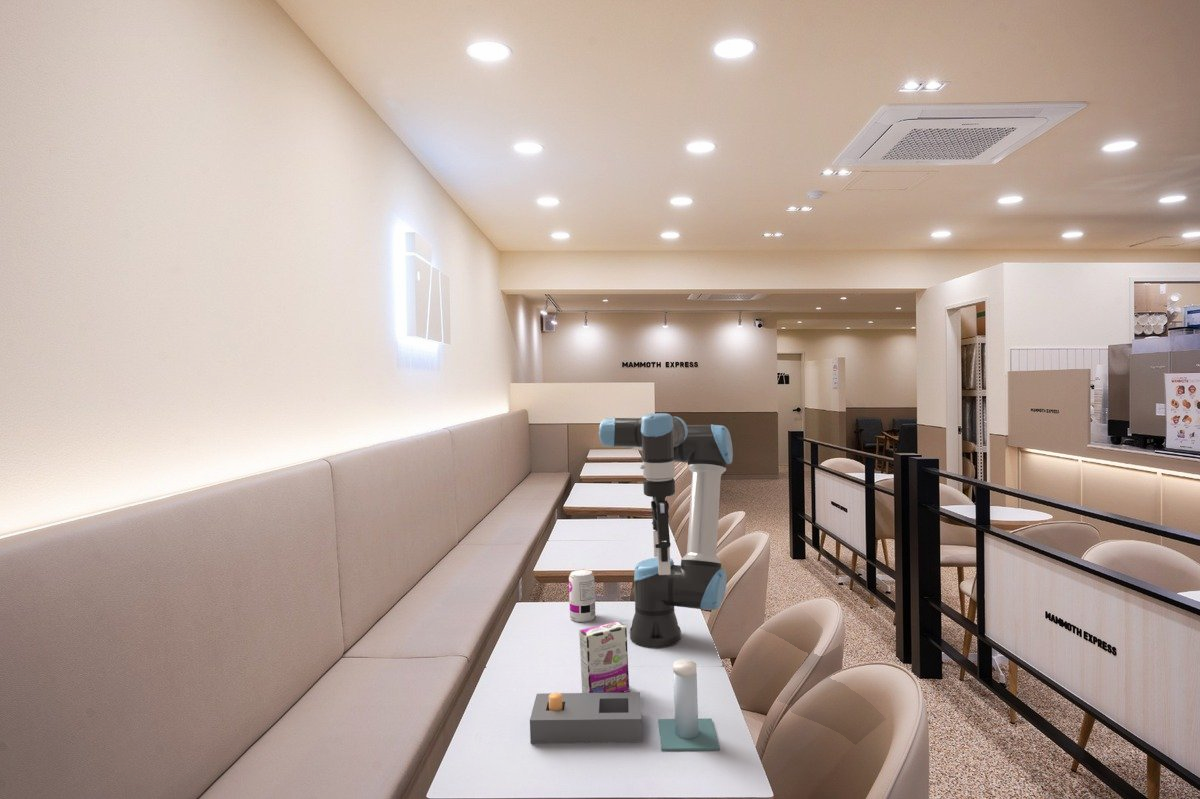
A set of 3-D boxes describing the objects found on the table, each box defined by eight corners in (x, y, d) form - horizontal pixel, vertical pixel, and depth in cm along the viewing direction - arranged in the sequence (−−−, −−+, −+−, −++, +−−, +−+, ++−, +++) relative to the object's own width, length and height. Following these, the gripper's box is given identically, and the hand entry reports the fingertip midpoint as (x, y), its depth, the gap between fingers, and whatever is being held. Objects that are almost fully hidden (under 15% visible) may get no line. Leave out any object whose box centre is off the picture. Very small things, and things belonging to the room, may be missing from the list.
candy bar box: (619, 683, 171) (618, 620, 171) (629, 691, 167) (628, 626, 166) (580, 694, 166) (578, 628, 165) (589, 702, 162) (587, 635, 161)
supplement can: (567, 622, 214) (566, 576, 214) (573, 613, 222) (571, 568, 222) (592, 623, 213) (591, 576, 212) (597, 614, 221) (595, 568, 220)
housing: (640, 713, 156) (640, 692, 156) (642, 741, 144) (641, 718, 144) (537, 714, 157) (536, 693, 156) (530, 743, 145) (529, 720, 145)
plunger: (563, 718, 152) (562, 692, 152) (562, 725, 149) (561, 699, 149) (550, 718, 152) (549, 692, 152) (548, 725, 149) (547, 699, 149)
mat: (658, 721, 152) (658, 718, 152) (711, 720, 152) (711, 718, 152) (661, 750, 140) (661, 748, 140) (719, 750, 140) (719, 748, 140)
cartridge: (685, 724, 150) (683, 657, 149) (703, 732, 146) (701, 664, 146) (670, 733, 146) (668, 664, 146) (688, 741, 143) (686, 671, 142)
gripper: (640, 469, 174) (643, 550, 175) (646, 489, 149) (650, 583, 150) (669, 468, 173) (672, 549, 175) (680, 488, 149) (683, 582, 150)
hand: (661, 565), depth 163 cm, fingers open, 13 cm apart
